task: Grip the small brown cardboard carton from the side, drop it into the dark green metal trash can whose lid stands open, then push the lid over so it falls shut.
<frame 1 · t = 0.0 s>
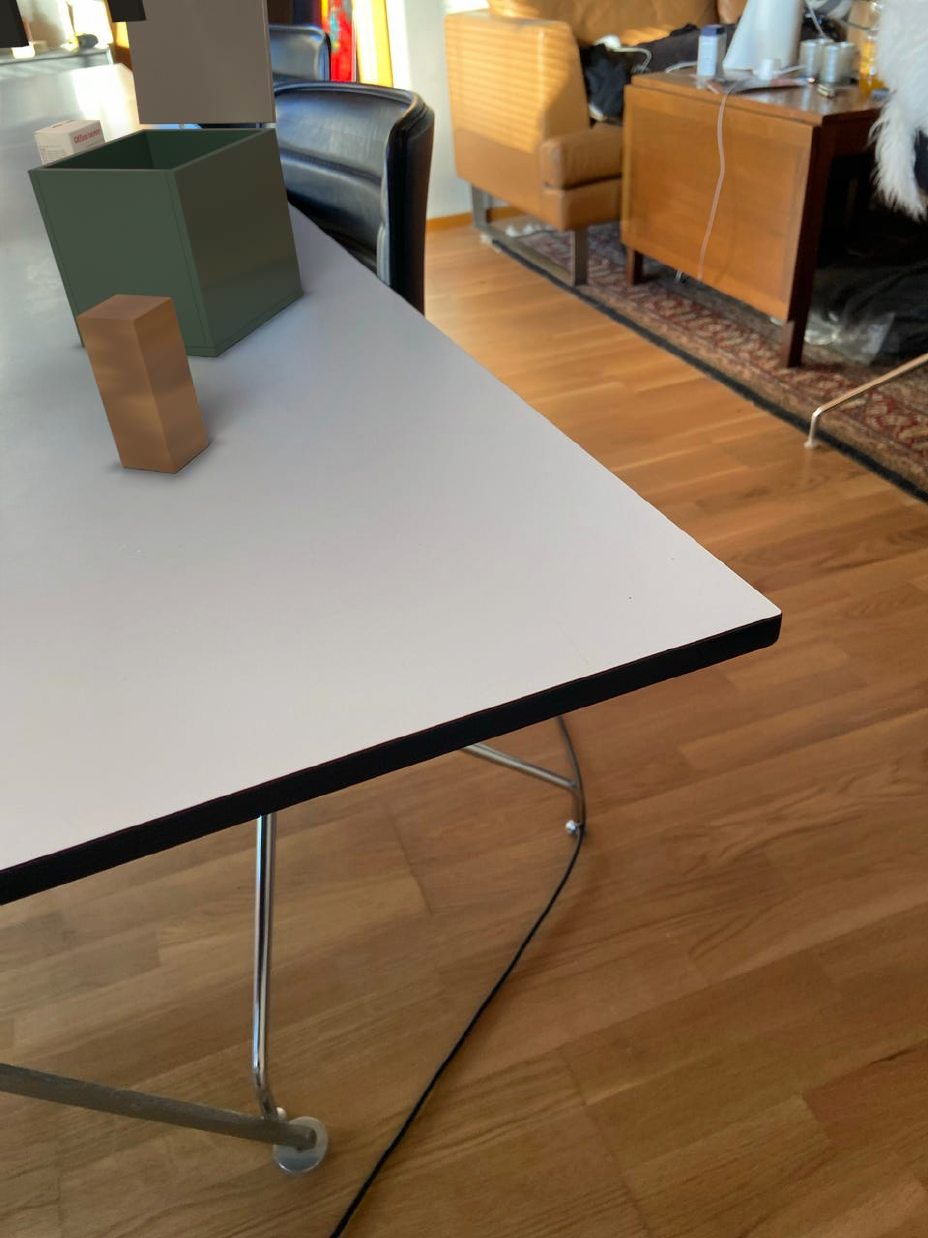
hand: (74, 33, 72), 25 cm above the table, tool pointing down, fingers open, 13 cm apart
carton: (166, 456, 72), on the table
bin lid: (194, 14, 88), point 24 cm above the table, hinge at 101.0°
trash can: (197, 319, 95), on the table
ink box 2: (219, 210, 130), on the table
ink box: (95, 225, 129), on the table
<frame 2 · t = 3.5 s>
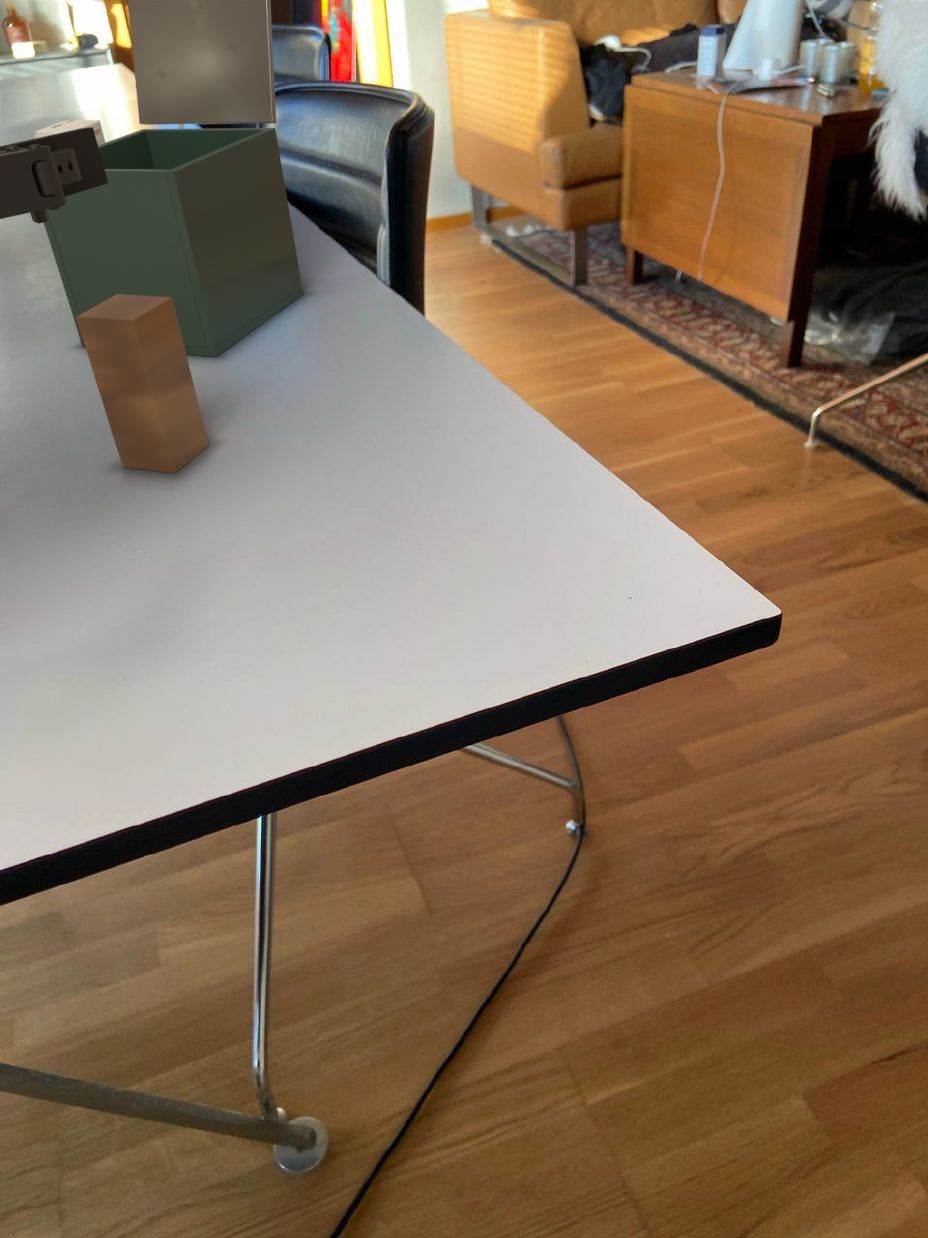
bin lid: (198, 15, 89), point 24 cm above the table, hinge at 105.1°
everything else where it was.
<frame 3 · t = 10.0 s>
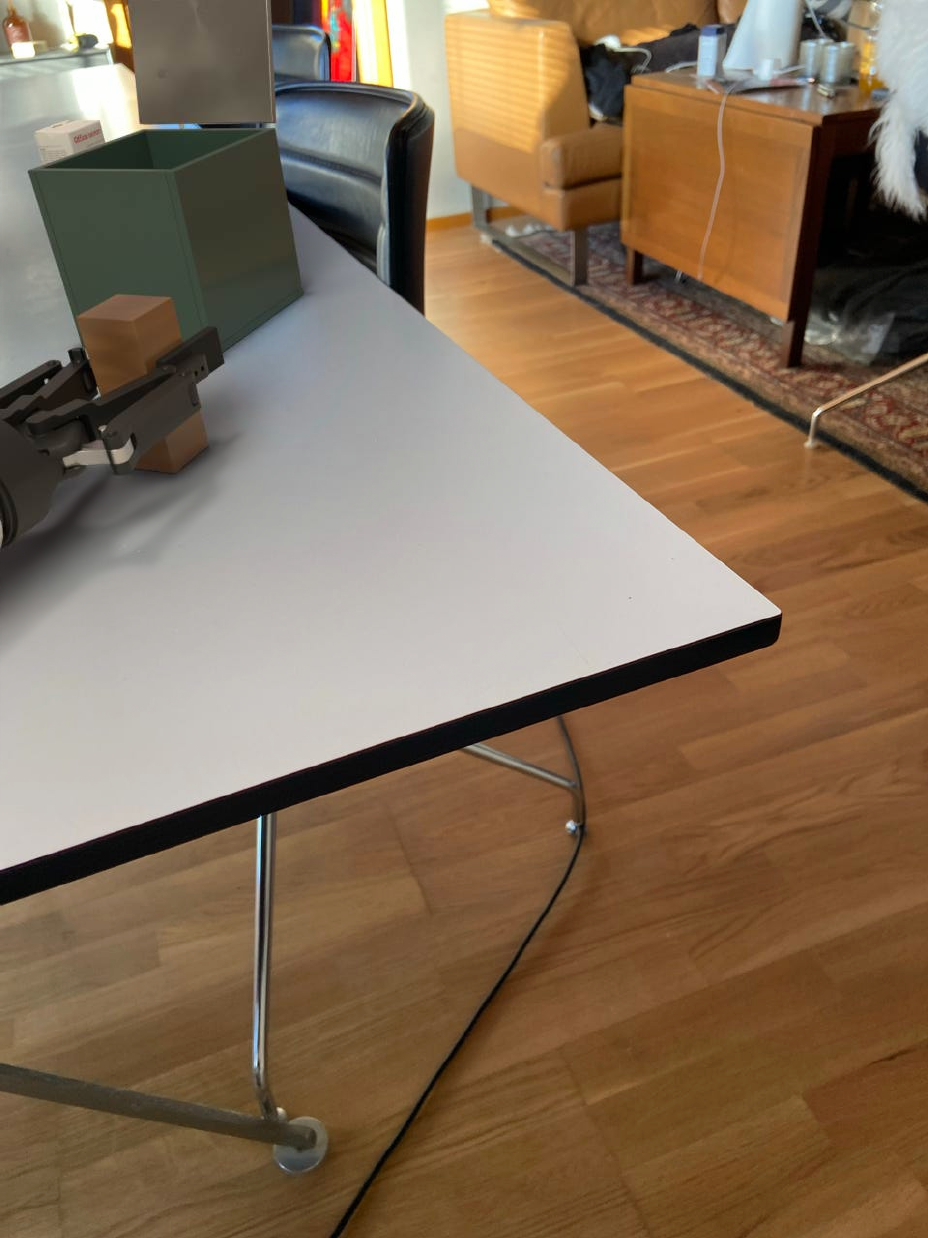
hand: (185, 342, 72), 6 cm above the table, tool horizontal, fingers closed on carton, 4 cm apart
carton: (166, 456, 72), on the table, touching gripper
everything else where it was.
when the fingers open (20 cm above the table, at t = 21.7 s): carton drops 13 cm, resting on trash can.
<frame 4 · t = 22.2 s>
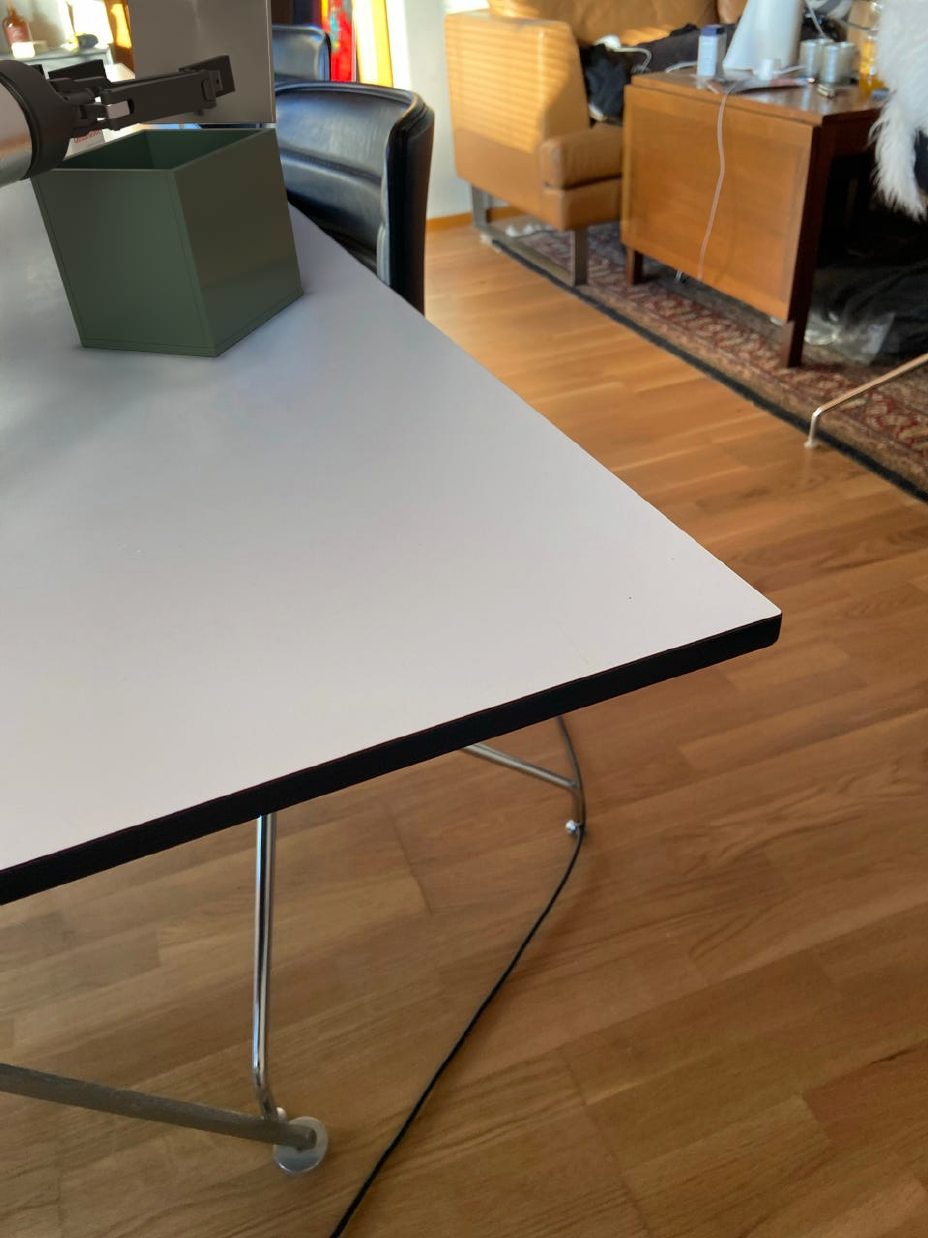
hand: (164, 74, 86), 20 cm above the table, tool horizontal, fingers open, 12 cm apart
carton: (195, 311, 95), point 1 cm above the table, touching trash can
everything else where it was.
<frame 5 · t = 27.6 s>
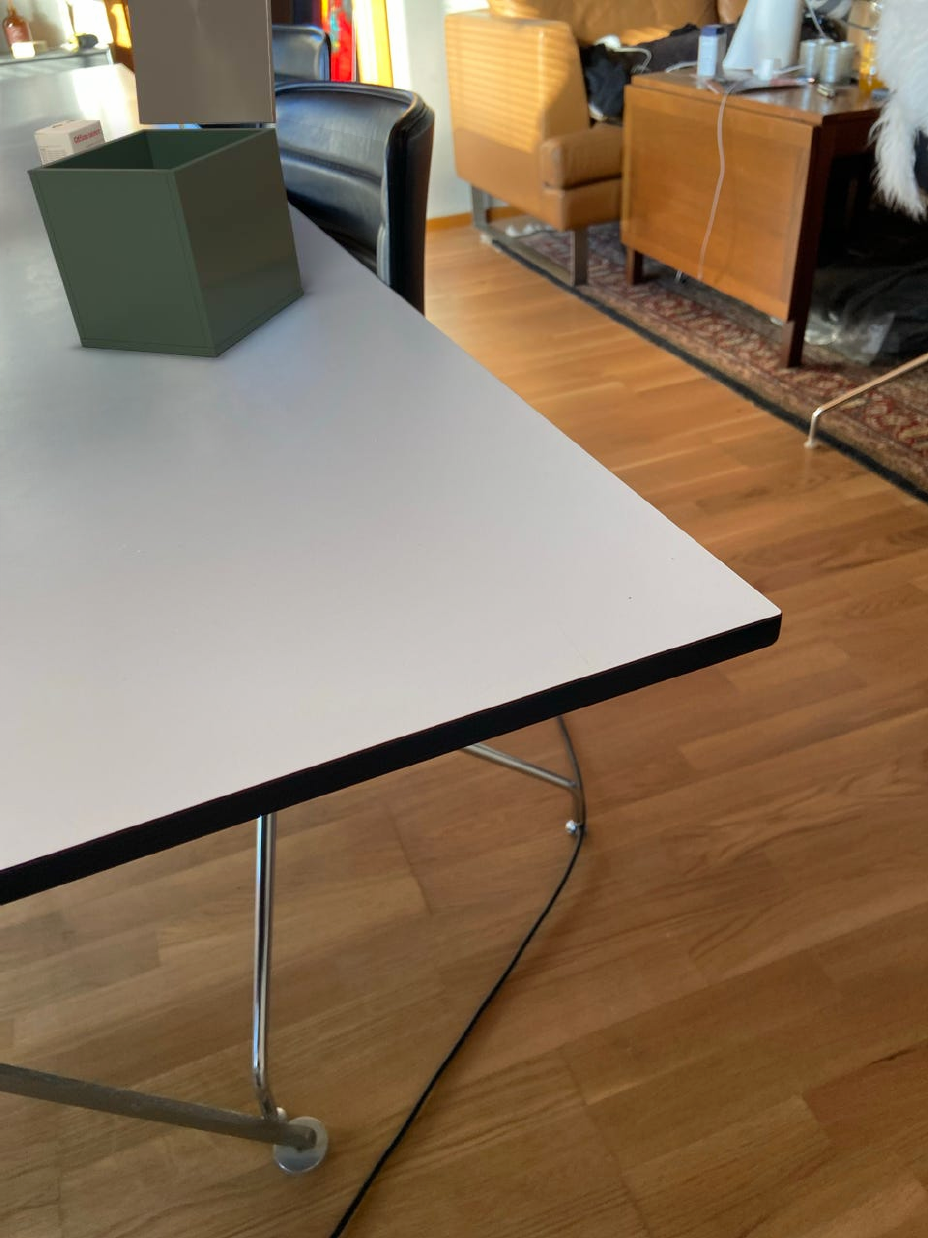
nothing on the table moved.
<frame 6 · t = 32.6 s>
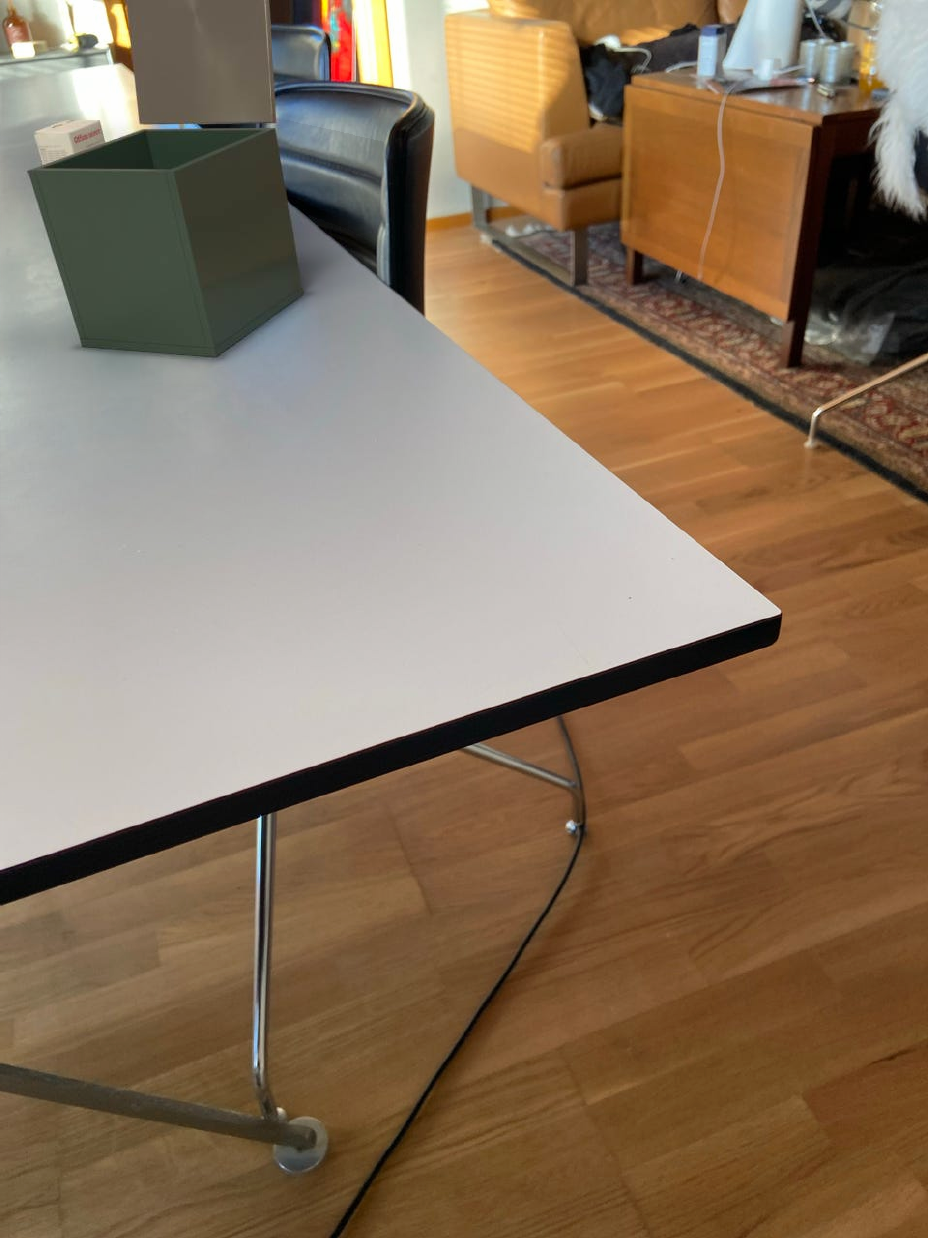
bin lid: (197, 14, 88), point 24 cm above the table, hinge at 103.6°, touching gripper
everything else where it was.
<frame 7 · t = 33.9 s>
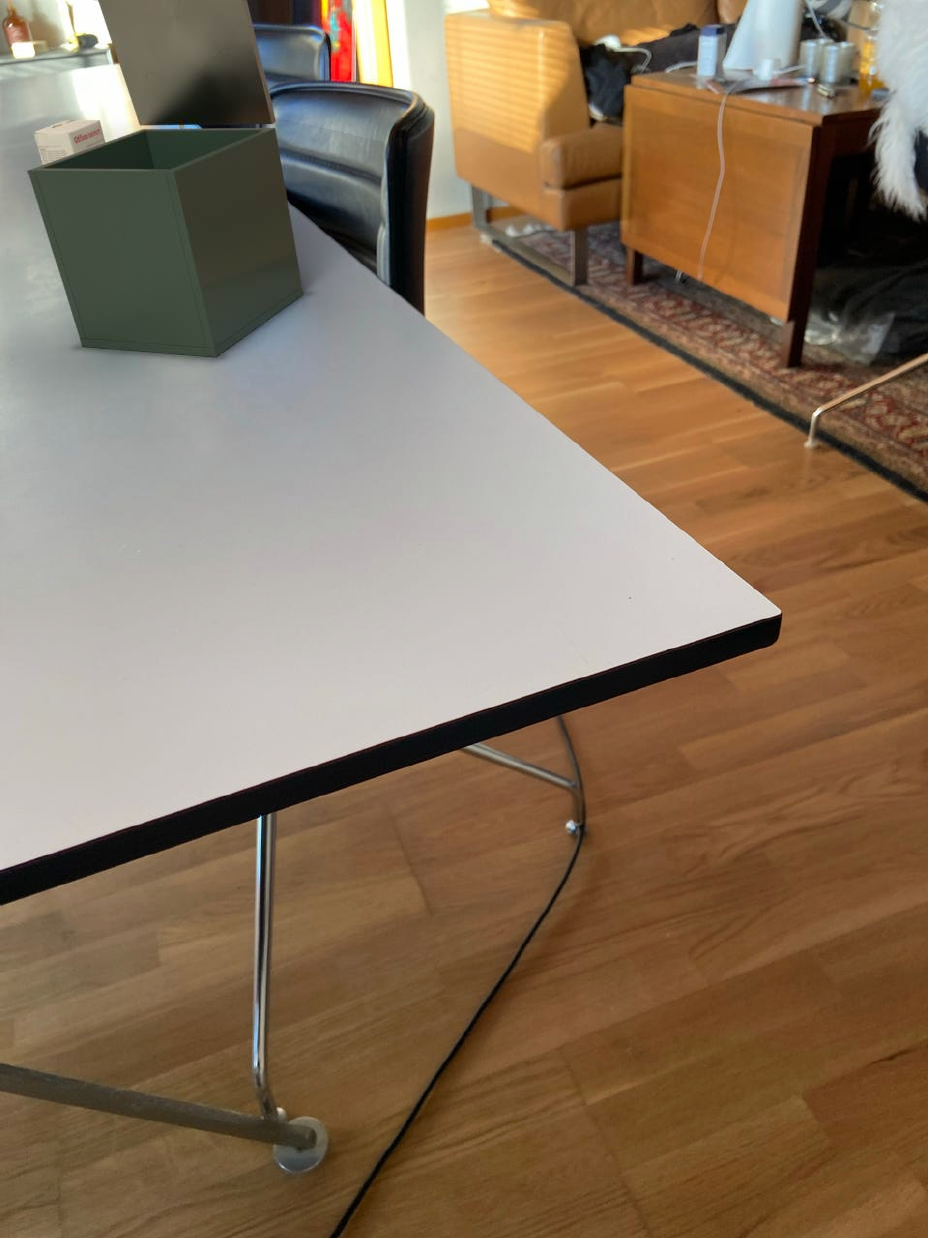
bin lid: (175, 17, 86), point 24 cm above the table, hinge at 81.4°, touching gripper
everything else where it was.
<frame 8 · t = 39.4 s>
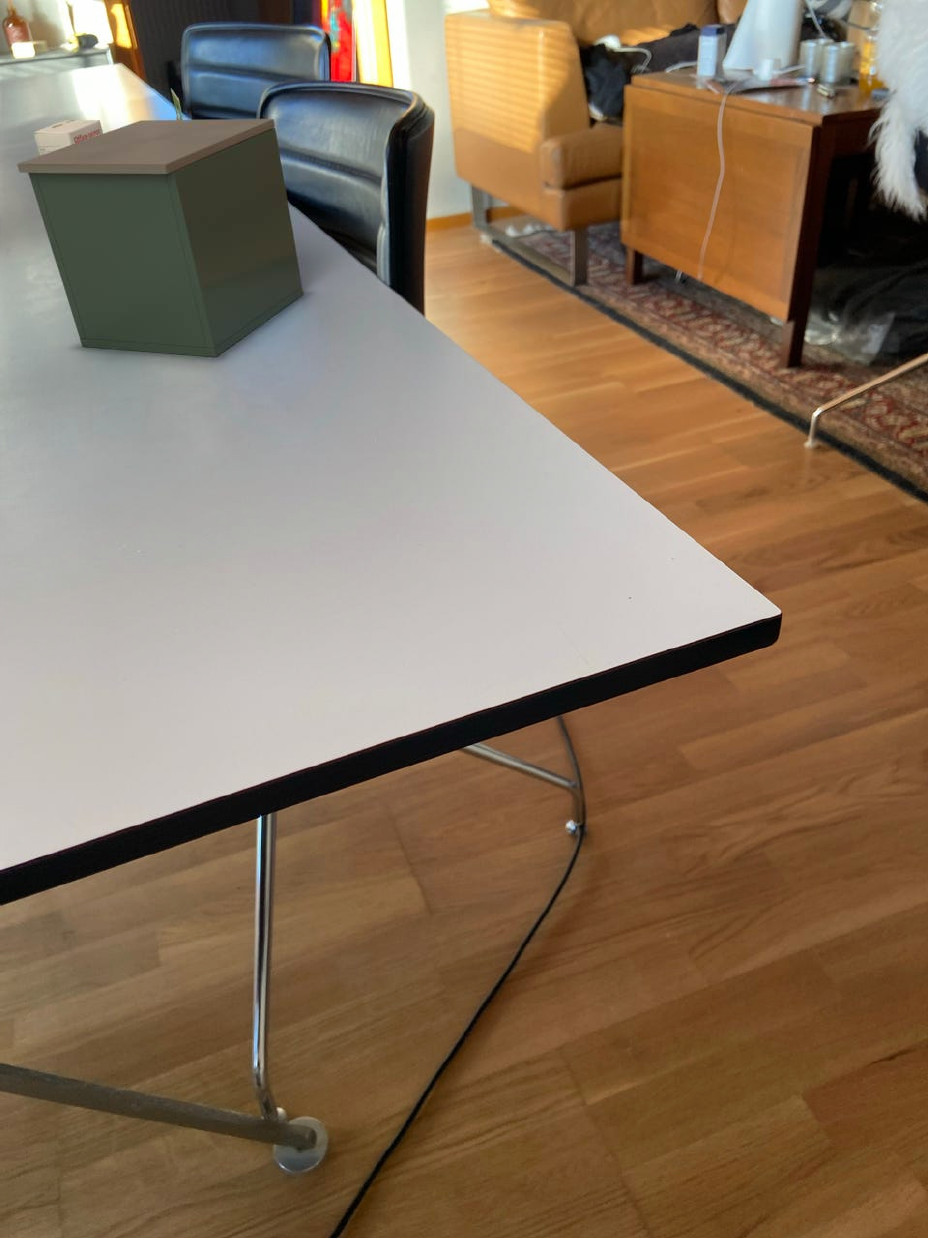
bin lid: (152, 144, 86), point 16 cm above the table, hinge at -0.1°
everything else where it was.
at the end: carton inside the target area in the trash can (0.1 cm from its centre), point 0.8 cm above the trash can's base; bin lid at +0° (first picture: +101°) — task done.
